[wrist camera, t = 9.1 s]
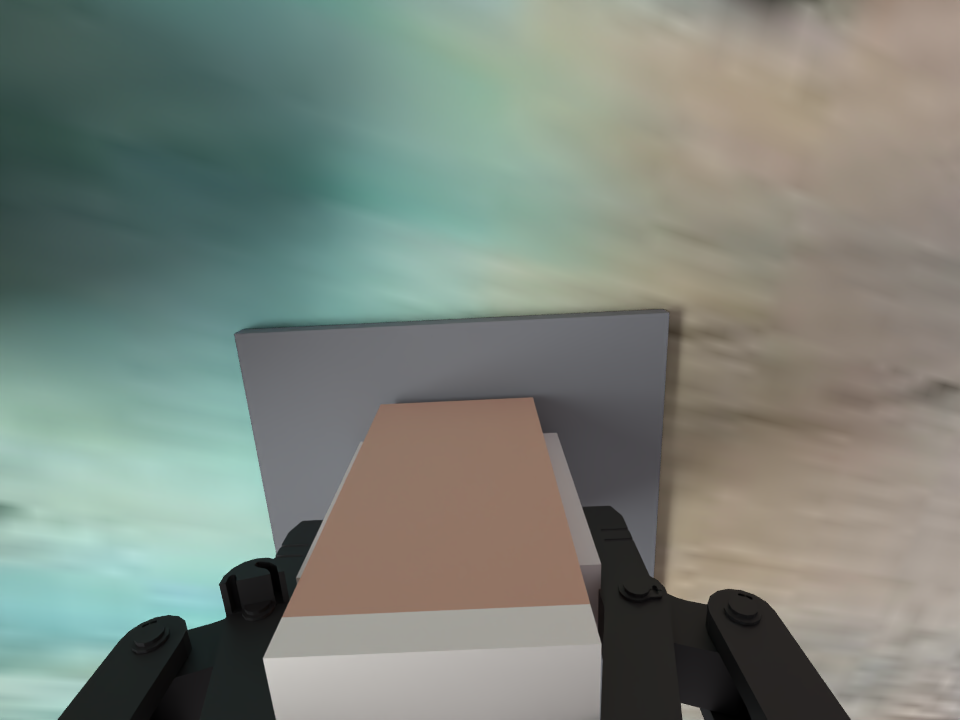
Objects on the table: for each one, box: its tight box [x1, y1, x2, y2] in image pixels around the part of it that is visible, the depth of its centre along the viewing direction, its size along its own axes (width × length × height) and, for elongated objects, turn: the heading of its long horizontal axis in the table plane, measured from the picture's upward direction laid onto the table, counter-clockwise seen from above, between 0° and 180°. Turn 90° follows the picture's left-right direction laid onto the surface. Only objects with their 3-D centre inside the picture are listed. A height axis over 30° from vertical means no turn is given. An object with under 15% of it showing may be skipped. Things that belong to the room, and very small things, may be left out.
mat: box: [234, 309, 669, 715], centre depth 20 cm, size 20×14×1 cm
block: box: [263, 397, 601, 720], centre depth 13 cm, size 5×5×10 cm
